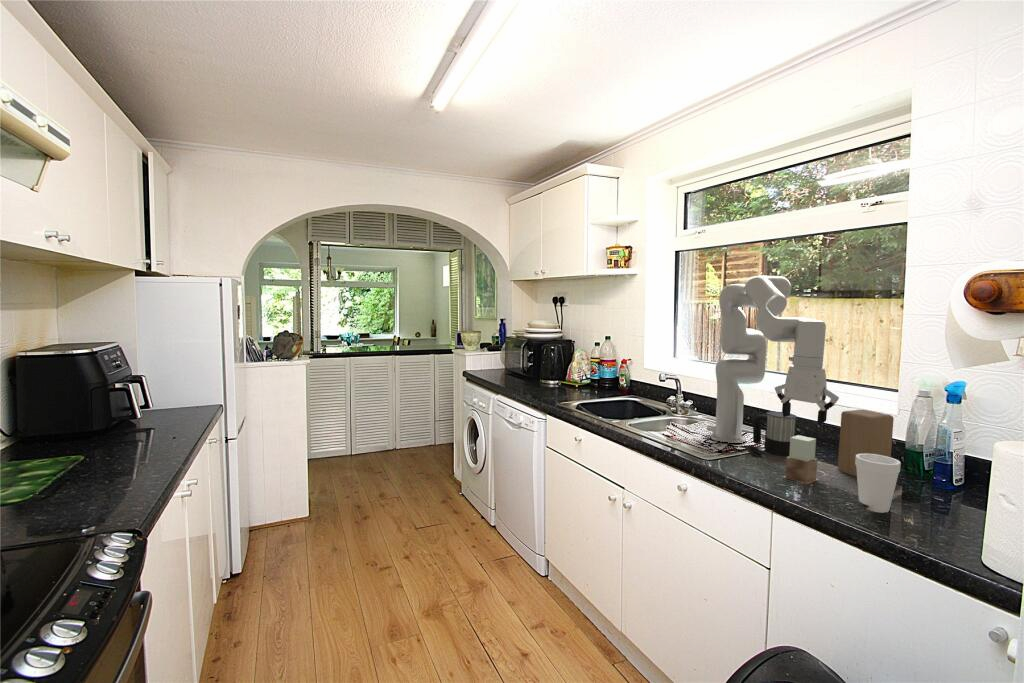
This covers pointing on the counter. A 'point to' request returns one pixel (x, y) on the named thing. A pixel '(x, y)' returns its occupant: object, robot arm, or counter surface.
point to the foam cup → (876, 480)
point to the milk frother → (773, 434)
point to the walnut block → (801, 469)
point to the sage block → (802, 448)
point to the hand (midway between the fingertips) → (803, 419)
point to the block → (863, 437)
